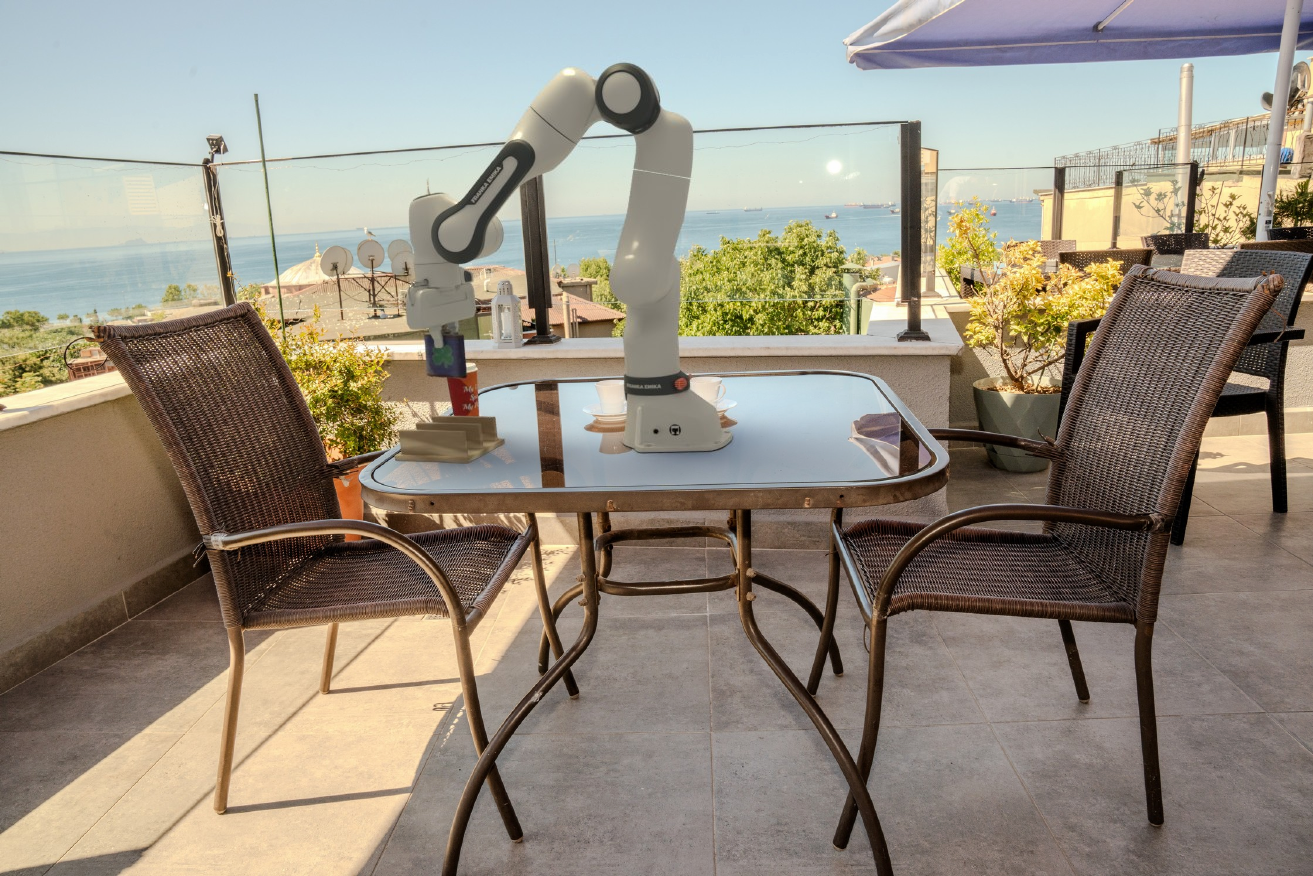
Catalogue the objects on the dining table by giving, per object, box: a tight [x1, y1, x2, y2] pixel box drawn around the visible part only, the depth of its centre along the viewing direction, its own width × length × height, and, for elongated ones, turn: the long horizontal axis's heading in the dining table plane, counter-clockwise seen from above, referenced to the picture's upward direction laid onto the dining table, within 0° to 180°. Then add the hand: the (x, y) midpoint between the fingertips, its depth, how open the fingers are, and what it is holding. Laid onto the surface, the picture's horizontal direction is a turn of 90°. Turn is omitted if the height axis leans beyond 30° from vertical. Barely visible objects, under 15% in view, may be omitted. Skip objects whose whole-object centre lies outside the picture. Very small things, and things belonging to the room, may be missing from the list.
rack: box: [394, 414, 506, 464], centre depth 180 cm, size 15×17×6 cm
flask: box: [423, 324, 467, 379], centre depth 178 cm, size 9×3×11 cm, turn 70°
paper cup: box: [446, 362, 480, 416], centre depth 203 cm, size 8×8×14 cm
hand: (446, 345), depth 178 cm, fingers closed on flask, 3 cm apart
